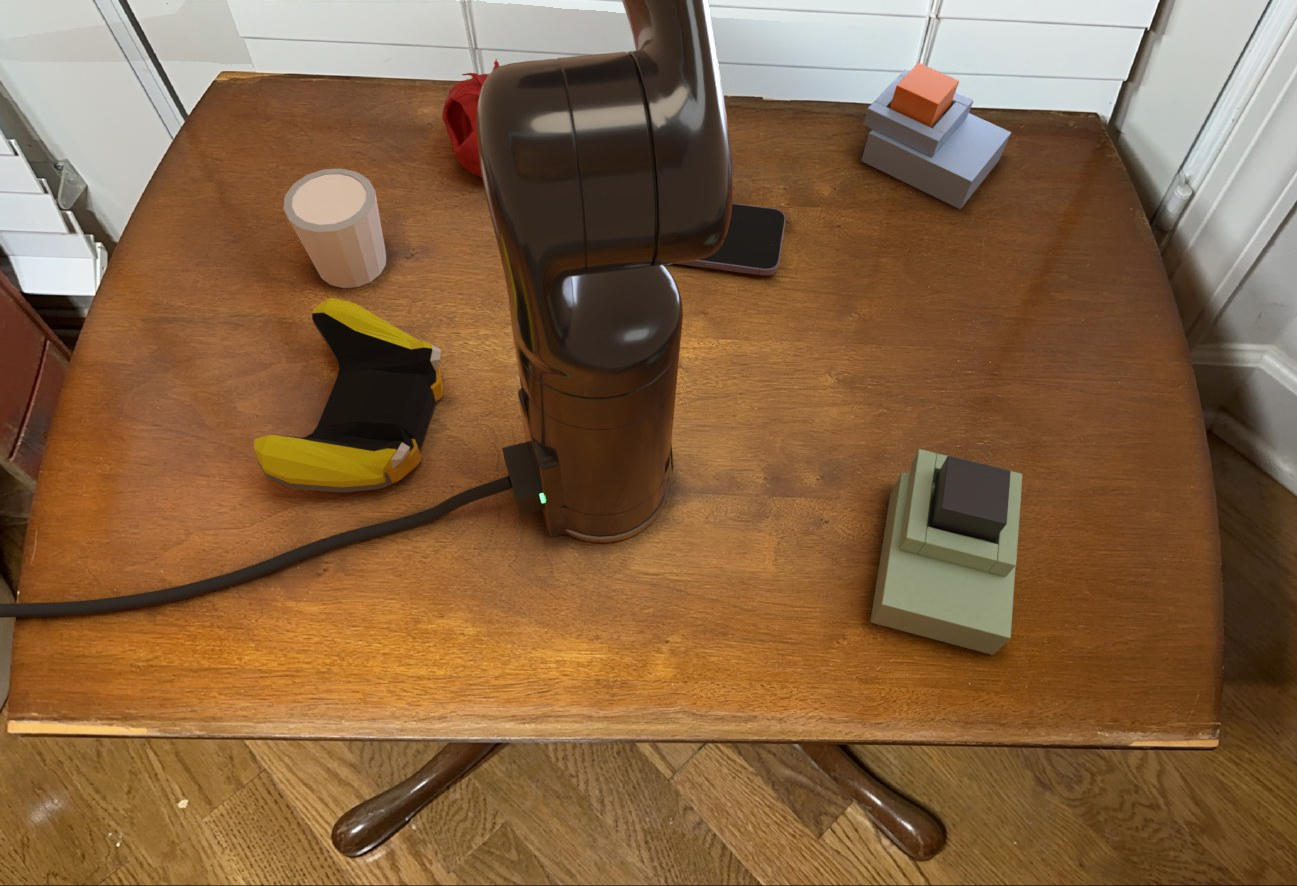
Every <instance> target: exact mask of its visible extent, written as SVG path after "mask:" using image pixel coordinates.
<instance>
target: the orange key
mask: <svg viewBox="0 0 1297 886" xmlns="http://www.w3.org/2000/svg"><path fill="white" fill-rule="evenodd" d="M909 71H910V72H909V73H908V74H907V75H906V76H905V77H904V78H903V79H902V80H901V81H900V82H899V83H898V84H897V86H896V89H895V92H894V96H893V99H892V102H891V106H890V109H892V110H894V111H896V112H898V113H900V114H902V115H905V116H907V117H909V118H911V119H913V120H915V121H918V122H920V123H922V124H924V125H926V126H928V127H932V126H933V125H934V123H935V122H936V121H937V120H938V119H939V118H940V117H941V115H942V114H943V113H944V112H945V111H946V110H947V109H948V107H949V106H950V105H951V102H952V100H953V97H954V94H955V92H957V88H958V87H959V83H960V80H959V79H957V78H954V77H952V76H950V75H947V74H945V73H943V72H941V71H938V70H937V69H934V68H932V67H929V66H928V65H925V64H924V63H921V62H917V63H916V64H914V66H913V67H912V68H911V70H909Z"/></svg>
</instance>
